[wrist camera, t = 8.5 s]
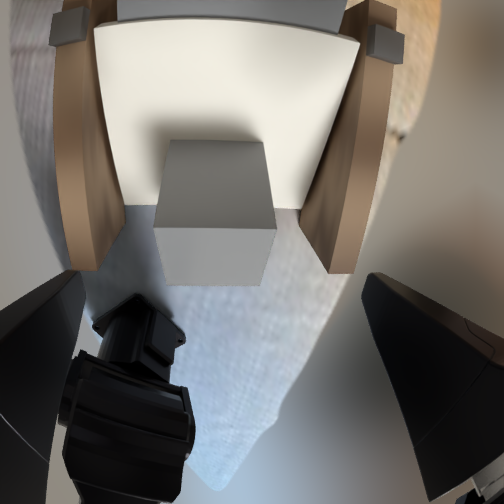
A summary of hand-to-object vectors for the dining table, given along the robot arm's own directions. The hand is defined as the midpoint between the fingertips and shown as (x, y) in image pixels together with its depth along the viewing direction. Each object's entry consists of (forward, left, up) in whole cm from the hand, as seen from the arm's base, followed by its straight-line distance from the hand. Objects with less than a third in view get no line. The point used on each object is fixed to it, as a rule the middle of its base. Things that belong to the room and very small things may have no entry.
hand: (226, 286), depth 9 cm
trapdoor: (+3, +5, -11) cm, 12 cm away
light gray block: (0, +1, -10) cm, 10 cm away
